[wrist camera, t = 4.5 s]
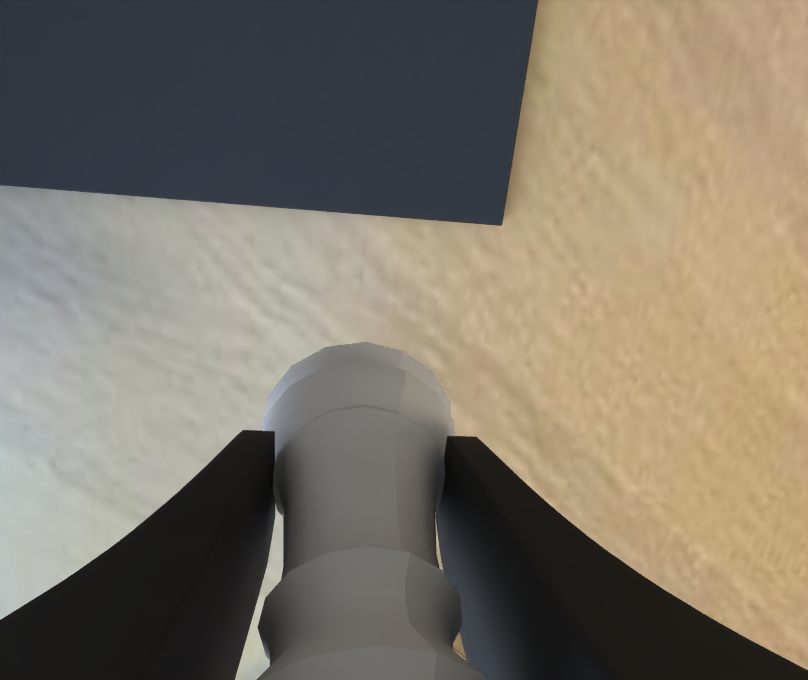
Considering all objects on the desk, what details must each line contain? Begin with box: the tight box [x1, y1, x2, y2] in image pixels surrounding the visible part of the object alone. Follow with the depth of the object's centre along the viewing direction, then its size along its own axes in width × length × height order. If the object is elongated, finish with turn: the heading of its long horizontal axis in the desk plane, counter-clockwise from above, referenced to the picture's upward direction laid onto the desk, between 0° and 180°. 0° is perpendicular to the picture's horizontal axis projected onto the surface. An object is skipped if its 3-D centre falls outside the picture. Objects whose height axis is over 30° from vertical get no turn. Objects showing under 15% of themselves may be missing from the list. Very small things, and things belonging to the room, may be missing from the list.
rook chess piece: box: [257, 342, 487, 680], centre depth 8 cm, size 4×4×8 cm
